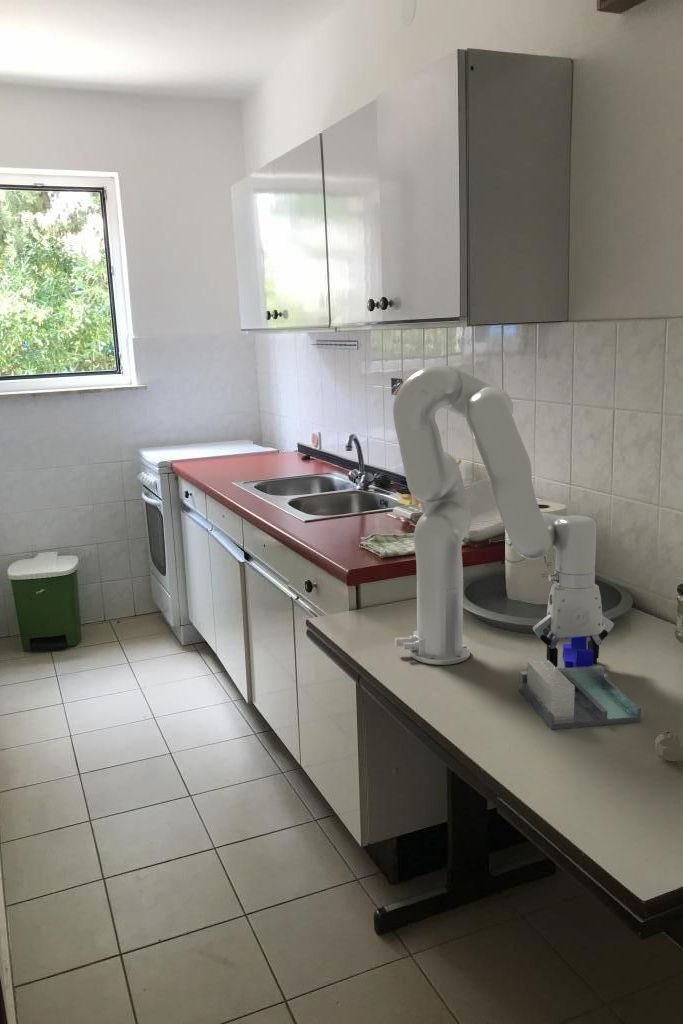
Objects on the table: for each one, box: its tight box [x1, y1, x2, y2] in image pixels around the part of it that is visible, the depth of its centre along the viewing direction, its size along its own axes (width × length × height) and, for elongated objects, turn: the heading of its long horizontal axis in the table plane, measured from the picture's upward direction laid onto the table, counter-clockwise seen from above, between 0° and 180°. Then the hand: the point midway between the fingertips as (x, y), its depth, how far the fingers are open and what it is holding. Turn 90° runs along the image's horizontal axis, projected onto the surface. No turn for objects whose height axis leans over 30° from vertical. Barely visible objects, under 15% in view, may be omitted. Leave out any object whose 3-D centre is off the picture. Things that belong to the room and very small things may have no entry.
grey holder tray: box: [518, 659, 642, 731], centre depth 150 cm, size 16×16×7 cm
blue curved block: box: [562, 637, 594, 668], centre depth 168 cm, size 12×4×6 cm, turn 170°
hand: (572, 662), depth 168 cm, fingers open, 7 cm apart
